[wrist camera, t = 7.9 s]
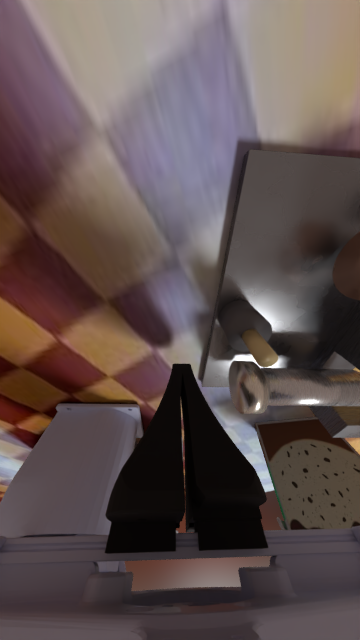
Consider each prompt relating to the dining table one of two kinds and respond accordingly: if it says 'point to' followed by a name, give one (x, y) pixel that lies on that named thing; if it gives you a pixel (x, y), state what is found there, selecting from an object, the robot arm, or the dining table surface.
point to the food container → (311, 474)
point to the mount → (293, 269)
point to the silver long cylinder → (290, 387)
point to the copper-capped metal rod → (348, 269)
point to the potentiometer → (248, 331)
